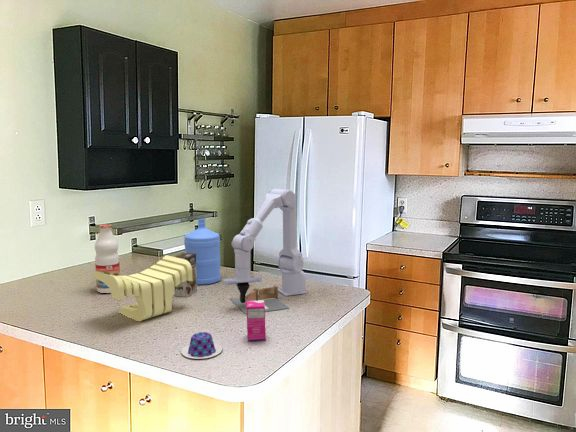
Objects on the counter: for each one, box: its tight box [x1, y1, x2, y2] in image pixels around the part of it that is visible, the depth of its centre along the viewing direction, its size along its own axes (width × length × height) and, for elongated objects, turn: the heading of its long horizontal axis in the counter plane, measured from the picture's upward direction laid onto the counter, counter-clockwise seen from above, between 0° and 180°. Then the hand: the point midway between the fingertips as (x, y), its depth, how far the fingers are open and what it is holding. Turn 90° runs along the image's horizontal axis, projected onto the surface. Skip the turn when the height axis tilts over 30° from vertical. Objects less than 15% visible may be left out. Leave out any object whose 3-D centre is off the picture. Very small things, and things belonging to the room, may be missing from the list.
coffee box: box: [173, 252, 198, 298], centre depth 195 cm, size 9×6×16 cm
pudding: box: [181, 331, 223, 360], centre depth 141 cm, size 12×12×5 cm
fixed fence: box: [252, 285, 279, 301], centre depth 188 cm, size 10×2×5 cm, turn 113°
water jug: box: [183, 218, 222, 286], centre depth 213 cm, size 16×16×28 cm
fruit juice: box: [94, 223, 121, 294], centre depth 198 cm, size 9×9×28 cm
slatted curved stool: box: [93, 254, 193, 322], centre depth 172 cm, size 30×16×18 cm, turn 140°
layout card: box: [230, 294, 290, 316], centre depth 183 cm, size 17×19×1 cm
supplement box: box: [246, 300, 267, 342], centre depth 150 cm, size 6×6×12 cm
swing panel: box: [245, 290, 256, 308], centre depth 181 cm, size 9×1×4 cm, turn 163°
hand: (242, 302), depth 179 cm, fingers closed, pressing on swing panel
